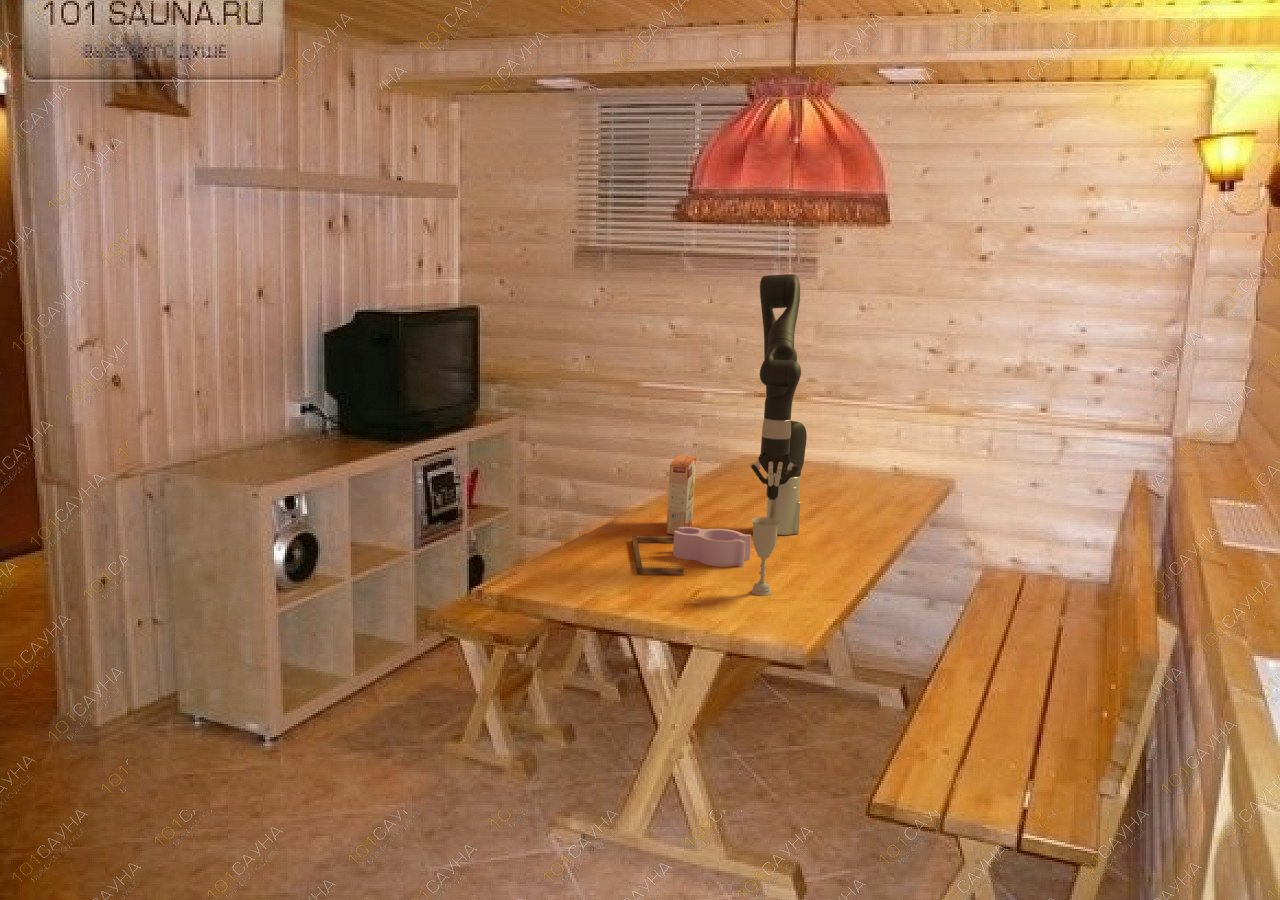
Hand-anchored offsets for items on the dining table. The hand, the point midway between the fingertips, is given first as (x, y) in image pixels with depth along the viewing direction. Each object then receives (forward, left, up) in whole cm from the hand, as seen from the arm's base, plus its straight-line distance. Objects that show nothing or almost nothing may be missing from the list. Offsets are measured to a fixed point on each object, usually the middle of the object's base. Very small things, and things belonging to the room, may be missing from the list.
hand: (771, 499), depth 288 cm
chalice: (+6, +27, -17) cm, 33 cm away
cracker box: (+21, -28, -17) cm, 39 cm away
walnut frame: (+30, 0, -17) cm, 34 cm away
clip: (+15, 0, -17) cm, 23 cm away
